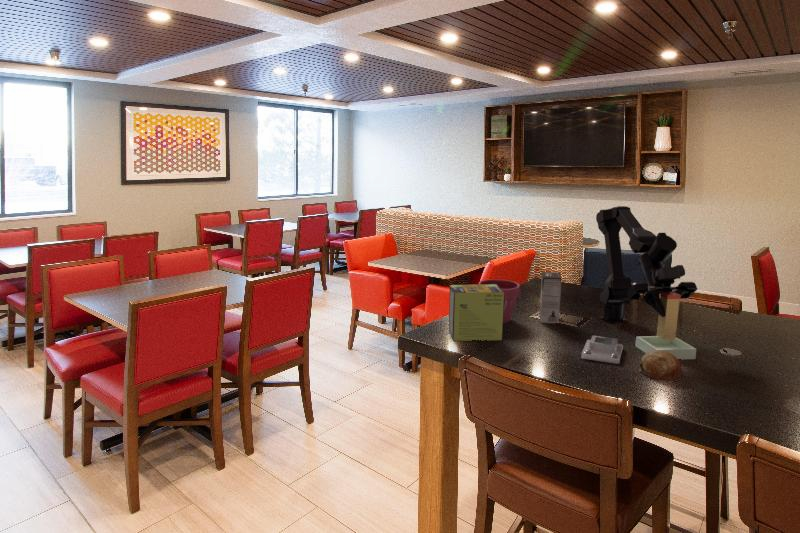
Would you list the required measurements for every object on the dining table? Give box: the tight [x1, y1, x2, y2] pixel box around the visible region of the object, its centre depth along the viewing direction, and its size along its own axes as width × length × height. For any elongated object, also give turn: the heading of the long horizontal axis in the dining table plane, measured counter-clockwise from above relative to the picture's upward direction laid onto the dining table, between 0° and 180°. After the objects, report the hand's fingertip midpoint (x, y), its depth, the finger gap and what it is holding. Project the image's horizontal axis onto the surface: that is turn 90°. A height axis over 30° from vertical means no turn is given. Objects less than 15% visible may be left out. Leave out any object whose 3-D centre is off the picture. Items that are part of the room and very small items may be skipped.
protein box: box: [448, 284, 504, 342], centre depth 173 cm, size 10×15×16 cm
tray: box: [634, 335, 697, 360], centre depth 160 cm, size 12×12×3 cm
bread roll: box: [638, 350, 683, 381], centre depth 145 cm, size 10×10×8 cm
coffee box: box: [539, 271, 563, 324], centre depth 190 cm, size 9×6×16 cm
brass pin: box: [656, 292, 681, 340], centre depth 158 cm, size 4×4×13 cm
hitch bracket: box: [580, 335, 624, 365], centre depth 159 cm, size 13×10×4 cm
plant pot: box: [478, 278, 521, 324], centre depth 191 cm, size 14×14×13 cm
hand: (670, 316), depth 157 cm, fingers closed on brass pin, 4 cm apart
